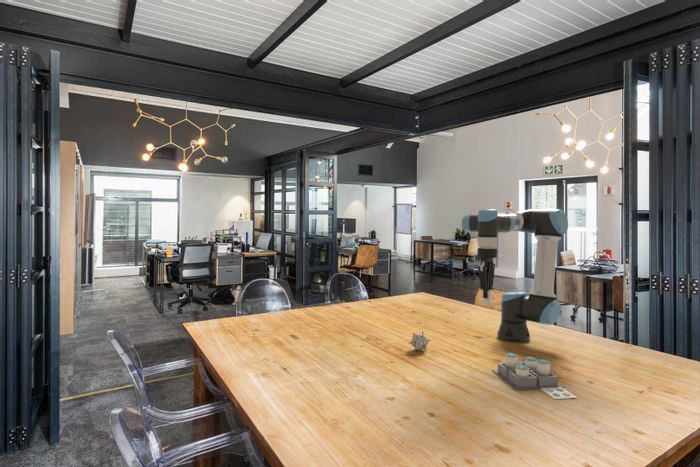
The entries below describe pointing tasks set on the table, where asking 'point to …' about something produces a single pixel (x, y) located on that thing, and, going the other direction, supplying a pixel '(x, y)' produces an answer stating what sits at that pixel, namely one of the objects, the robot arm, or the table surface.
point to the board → (526, 378)
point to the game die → (419, 341)
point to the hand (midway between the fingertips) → (486, 305)
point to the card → (558, 393)
